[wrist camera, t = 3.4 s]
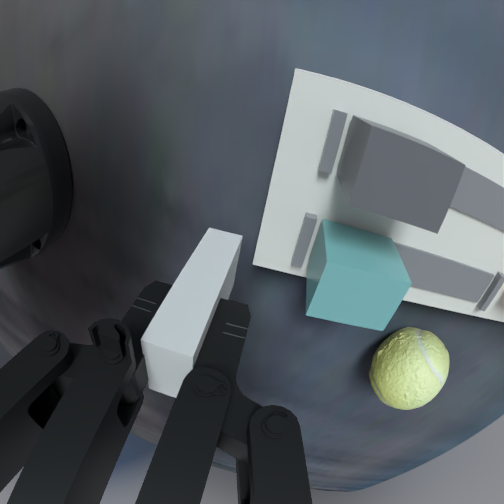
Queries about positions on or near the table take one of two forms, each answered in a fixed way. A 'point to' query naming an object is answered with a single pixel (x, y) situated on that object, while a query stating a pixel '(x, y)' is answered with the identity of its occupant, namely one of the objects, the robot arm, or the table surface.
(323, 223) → the teal slider
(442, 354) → the tennis ball
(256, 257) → the panel
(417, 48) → the table surface
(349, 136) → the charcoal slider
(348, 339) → the table surface
